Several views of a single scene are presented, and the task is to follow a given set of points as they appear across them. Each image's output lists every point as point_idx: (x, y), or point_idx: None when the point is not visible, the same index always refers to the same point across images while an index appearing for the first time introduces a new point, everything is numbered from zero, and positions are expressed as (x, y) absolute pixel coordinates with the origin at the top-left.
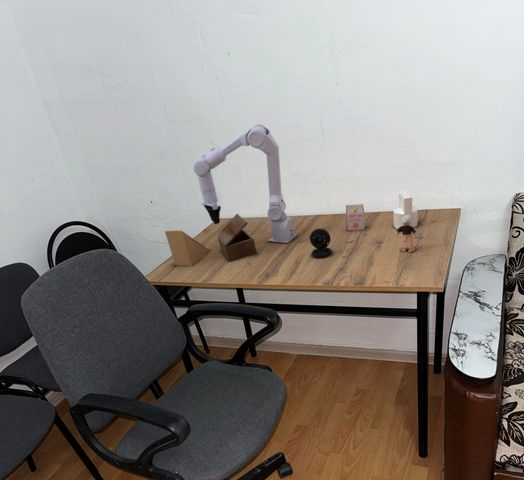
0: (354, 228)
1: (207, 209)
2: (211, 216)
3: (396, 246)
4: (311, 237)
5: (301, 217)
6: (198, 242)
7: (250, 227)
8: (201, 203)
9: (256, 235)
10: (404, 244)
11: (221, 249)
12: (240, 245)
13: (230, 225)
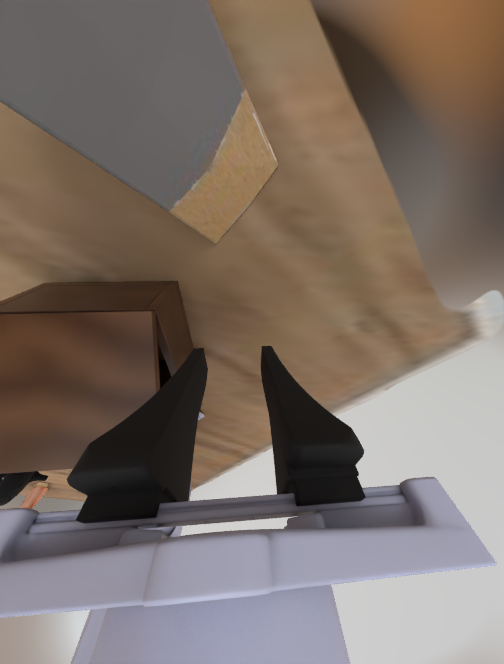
0: None
1: (86, 473)
2: (169, 389)
3: (59, 481)
4: (6, 476)
5: (262, 445)
6: (102, 168)
7: (304, 384)
8: (200, 586)
9: (236, 384)
10: (30, 494)
11: (153, 285)
12: None
13: (108, 401)
